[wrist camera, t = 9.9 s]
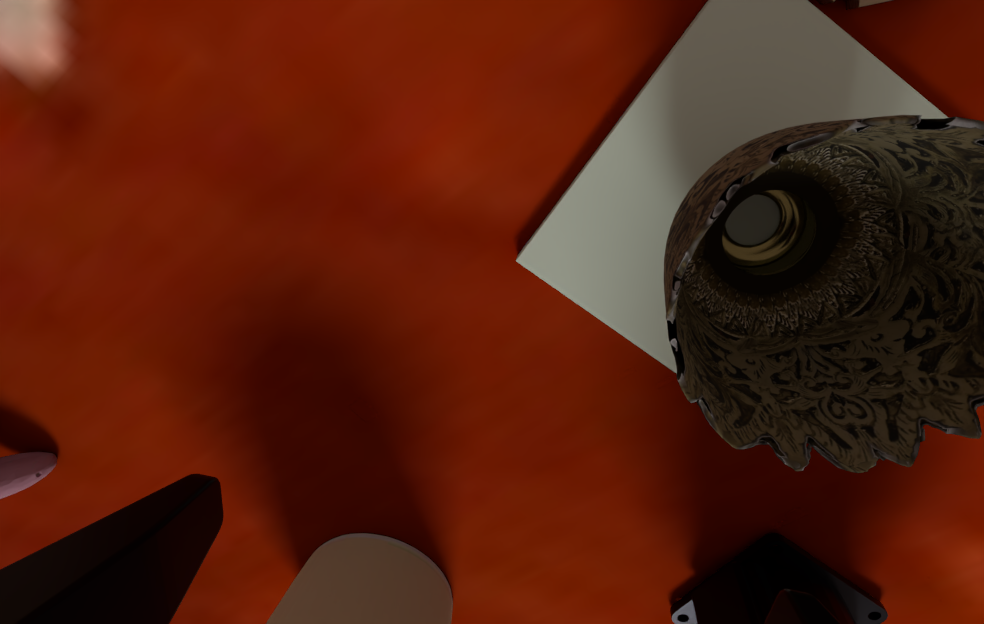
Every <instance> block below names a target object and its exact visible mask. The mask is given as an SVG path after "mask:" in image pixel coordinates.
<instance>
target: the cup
mask: <svg viewBox="0 0 984 624" xmlns="http://www.w3.org/2000/svg"><path fill="white" fill-rule="evenodd" d="M921 116H922V115H895V116H883V117H873V118H863V119H850V120H839V121H827V122H817V123H810V124H804V125H799V126H793V127H788V128H785V129H781V130H778V131H775V132H772V133H768V134H765V135H763V136H760V137H758V138H755V139H753V140H751V141H748V142H747V143H745V144H743V145H741V146H739V147H737V148H735V149H734V150H732V151H731V152H729V153H728V154H726V155H725V156H723V157H722V158H721V159H720V160H718V161H717V162H716V163H715V164H713V165H712V166H711V167H710V168H709V169H708V170H707V171H706V172H705V173H704V174H703V175H702V176H701V177H700V178H699V179H698V180H697V181H696V183H695V184H694V185H693V186H692V188H691V189H690V190H689V192H688V193H687V195H686V196H685V198H684V199H683V201H682V202H681V204H680V206H679V208H678V210H677V212H676V214H675V216H674V219H673V222H672V224H671V227H670V230H669V234H668V238H667V242H666V248H665V256H664V295H665V307H666V320H667V327H668V338H669V342H670V344H671V348H672V352H673V354H674V357H675V362H676V367H677V380H678V382H679V384H680V387H681V389H682V391H683V392H684V394H685V396H686V398H687V400H688V401H689V402H690V403H693V402H697V404H698V405H699V407H700V408H701V410H702V412H703V414H704V416H705V418H706V420H707V421H708V422H709V424H710V425H711V426H712V428H713V429H714V430H715V431H716V432H717V433H718V434H719V435H720V436H721V437H722V438H723V439H724V440H725V441H726V442H727V443H729V444H730V445H731V446H732V447H734V448H736V449H747V448H751V447H754V446H755V445H758V444H763V445H766V444H769V445H770V446H771V447H772V449H773V450H774V452H775V453H776V456H777V457H778V458H779V459H780V460H782V461H783V463H784V464H786V465H787V466H789V467H791V468H793V469H794V470H795V471H803V470H804V468H805V467H806V466H807V465H808V464H809V460H810V458H811V456H810V452H811V449H812V448H811V447H813V448H814V449H815V450H816V451H817V452H818V453H820V455H822V456H823V457H824V458H826V459H827V460H828V461H830V462H831V463H832V464H834V465H835V466H836V467H838V468H841V469H843V470H846V471H850V472H855V473H862V472H867V471H868V469H870V468H872V467H874V466H875V465H876V461H877V460H878V459H879V458H880V459H881V460H883V461H884V460H885V459H888V460H891V461H893V462H895V463H898V464H900V465H903V466H907V467H910V466H912V464H913V463H914V461H915V459H916V457H917V455H918V450H919V446H920V442H922V441H924V440H925V431H924V429H923V426H924V425H929V426H931V427H934V428H938V429H940V430H942V431H944V432H945V433H947V434H956V435H960V436H964V437H968V438H977V439H978V438H980V437H981V434H982V433H981V427H980V422H979V418H978V415H977V413H976V410H977V407H978V406H981V405H984V122H983V121H979V120H971V119H966V118H960V117H951V118H945V119H921ZM753 195H763V196H766V197H768V198H770V199H772V200H773V201H774V202H775V203H776V205H777V206H778V208H779V211H780V222H779V225H778V227H777V229H776V231H775V232H774V234H773V235H772V236H771V237H770V238H768V239H767V240H765V241H764V242H761V243H759V244H755V245H743V244H740V243H737V242H736V241H734V240H733V239H732V238H731V237H730V236H729V234H728V232H727V230H726V221H727V219H728V217H729V216H730V214H731V213H732V211H733V210H734V209H735V208H736V207H737V206H738V205H739V204H740V203H742V202H743V201H744V200H746V199H747V198H749V197H751V196H753ZM806 443H808V444H809V445H808V446H807V448H806Z"/></svg>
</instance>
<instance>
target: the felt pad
mask: <svg viewBox="0 0 984 624" xmlns="http://www.w3.org/2000/svg"><path fill="white" fill-rule="evenodd" d="M895 115H922V116H921V119H945V118H948V117H947V116H946V115H945V114H943V113H942V112H941V111H940V110H939V109H937V108H936V107H935V106H934V105H933V104H931V103H930V102H929V101H928V100H927V99H925V98H924V97H923V96H922V95H921V94H919V93H918V92H917V91H916V90H915V89H913V88H912V87H911V86H910V85H909V84H907V83H906V82H905V81H904V80H903V79H901V78H900V77H899V76H898V75H897V74H895V73H894V72H893V71H892V70H891V69H889V68H888V67H887V66H886V65H885V64H883V63H882V62H881V61H880V60H879V59H877V58H876V57H875V56H874V55H873V54H871V53H870V52H869V51H868V50H867V49H865V48H864V47H863V46H862V45H861V44H859V43H858V42H857V41H856V40H855V39H853V38H852V37H851V36H850V35H849V34H847V33H846V32H845V31H844V30H843V29H841V28H840V27H839V26H838V25H837V24H835V23H834V22H833V21H832V20H831V19H830V18H828V17H827V16H826V15H825V14H824V13H822V12H821V11H820V10H819V9H818V8H816V7H815V6H814V5H813V4H812V3H810V2H809V1H808V0H708V1H707V2H706V4H705V5H704V6H703V8H702V9H701V11H700V12H699V13H698V15H697V16H696V17H695V19H694V20H693V21H692V23H691V24H690V25H689V27H688V28H687V29H686V31H685V32H684V33H683V35H682V36H681V37H680V39H679V40H678V41H677V43H676V44H675V45H674V47H673V48H672V49H671V51H670V52H669V53H668V55H667V56H666V57H665V59H664V60H663V61H662V63H661V64H660V65H659V67H658V68H657V69H656V71H655V72H654V73H653V75H652V76H651V77H650V79H649V80H648V81H647V83H646V84H645V86H644V87H643V88H642V90H641V91H640V92H639V94H638V95H637V96H636V98H635V99H634V100H633V102H632V103H631V104H630V106H629V107H628V108H627V110H626V111H625V112H624V114H623V115H622V116H621V118H620V119H619V120H618V122H617V123H616V124H615V126H614V127H613V128H612V130H611V131H610V132H609V134H608V135H607V136H606V138H605V139H604V140H603V142H602V143H601V144H600V146H599V147H598V148H597V150H596V151H595V152H594V154H593V155H592V156H591V158H590V159H589V161H588V162H587V163H586V165H585V166H584V167H583V169H582V170H581V171H580V173H579V174H578V175H577V177H576V178H575V179H574V181H573V182H572V183H571V185H570V186H569V187H568V189H567V190H566V191H565V193H564V194H563V195H562V197H561V198H560V199H559V201H558V202H557V203H556V205H555V206H554V207H553V209H552V210H551V211H550V213H549V214H548V215H547V217H546V218H545V219H544V221H543V222H542V223H541V225H540V226H539V227H538V229H537V230H536V231H535V233H534V234H533V235H532V237H531V238H530V240H529V241H528V242H527V244H526V245H525V246H524V248H523V249H522V250H521V252H520V253H519V254H518V256H517V259H516V261H517V262H518V263H519V264H521V265H522V266H524V267H525V268H527V269H528V270H529V271H531V272H532V273H534V274H535V275H537V276H538V277H539V278H541V279H542V280H544V281H545V282H547V283H548V284H549V285H551V286H552V287H554V288H555V289H557V290H558V291H559V292H561V293H562V294H564V295H565V296H567V297H568V298H569V299H571V300H572V301H574V302H575V303H577V304H578V305H579V306H581V307H582V308H584V309H585V310H587V311H588V312H589V313H591V314H592V315H594V316H595V317H597V318H598V319H599V320H601V321H602V322H604V323H605V324H607V325H608V326H609V327H611V328H612V329H614V330H615V331H617V332H618V333H619V334H621V335H622V336H624V337H625V338H627V339H628V340H629V341H631V342H632V343H634V344H635V345H637V346H638V347H639V348H641V349H642V350H644V351H645V352H646V353H648V354H649V355H651V356H652V357H654V358H655V359H656V360H658V361H659V362H661V363H662V364H664V365H665V366H666V367H668V368H669V369H671V370H672V371H674V372H675V373H676V374H677V367H676V362H675V357H674V354H673V352H672V348H671V344H670V342H669V338H668V327H667V320H666V307H665V295H664V256H665V248H666V242H667V238H668V234H669V230H670V227H671V224H672V222H673V219H674V216H675V214H676V212H677V210H678V208H679V206H680V204H681V202H682V201H683V199H684V198H685V196H686V195H687V193H688V192H689V190H690V189H691V188H692V186H693V185H694V184H695V183H696V181H697V180H698V179H699V178H700V177H701V176H702V175H703V174H704V173H705V172H706V171H707V170H708V169H709V168H710V167H711V166H712V165H713V164H715V163H716V162H717V161H718V160H720V159H721V158H722V157H723V156H725V155H726V154H728V153H729V152H731V151H732V150H734V149H735V148H737V147H739V146H741V145H743V144H745V143H747V142H748V141H751V140H753V139H755V138H758V137H760V136H763V135H765V134H768V133H772V132H775V131H778V130H781V129H785V128H788V127H793V126H799V125H804V124H810V123H817V122H827V121H839V120H850V119H863V118H873V117H883V116H895ZM779 222H780V211H779V208H778V206H777V205H776V203H775V202H774V201H773V200H772V199H770V198H768V197H766V196H763V195H753V196H751V197H749V198H747V199H746V200H744V201H743V202H742V203H740V204H739V205H738V206H737V207H736V208H735V209H734V210H733V211H732V213H731V214H730V216H729V217H728V219H727V221H726V230H727V232H728V234H729V236H730V237H731V238H732V239H733V240H734V241H736V242H737V243H740V244H743V245H755V244H759V243H761V242H764V241H765V240H767V239H768V238H770V237H771V236H772V235H773V234H774V232H775V231H776V229H777V227H778V225H779Z"/></svg>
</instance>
